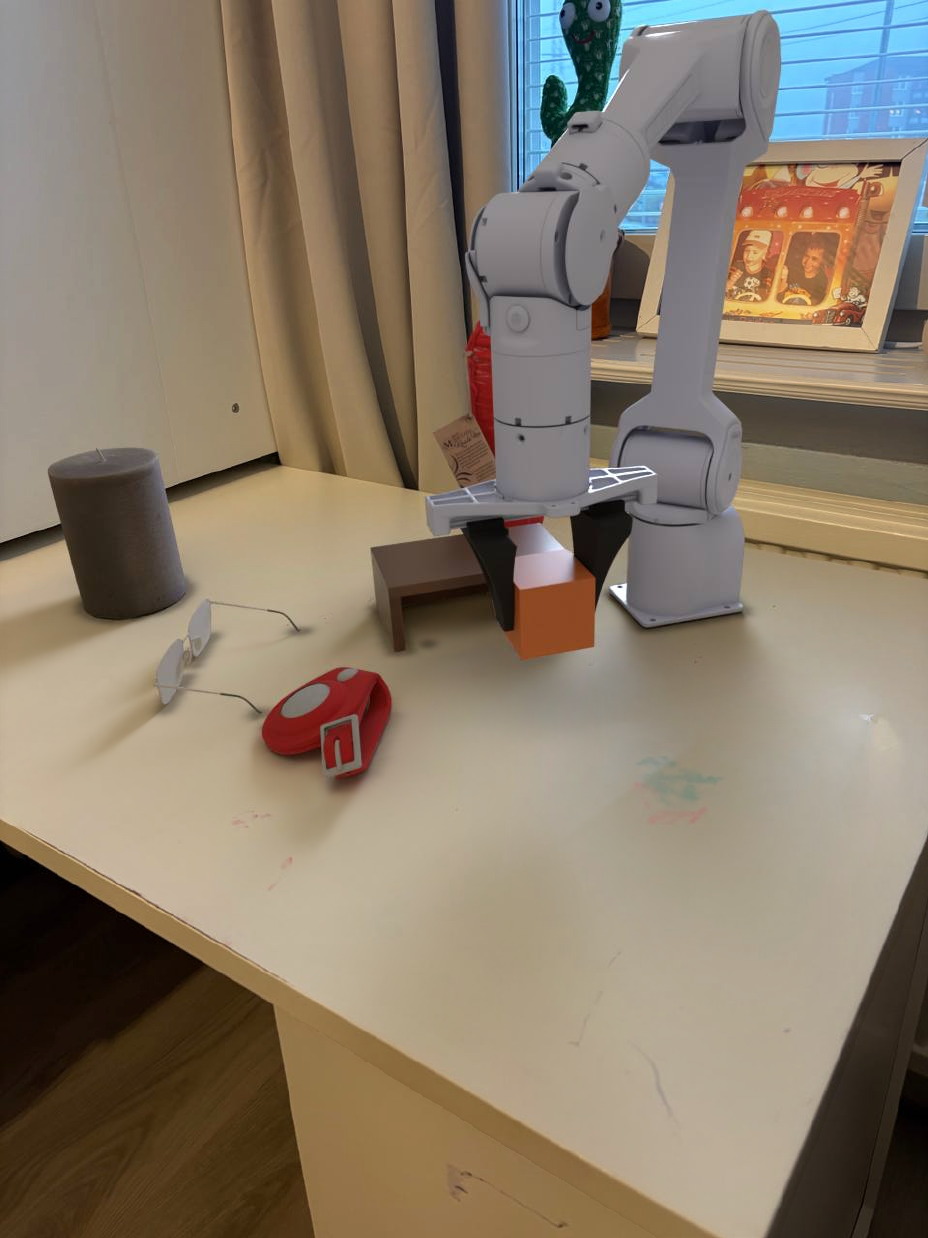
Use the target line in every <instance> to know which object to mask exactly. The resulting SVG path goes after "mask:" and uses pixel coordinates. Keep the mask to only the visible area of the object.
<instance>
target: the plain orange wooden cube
mask: <svg viewBox="0 0 928 1238" xmlns="http://www.w3.org/2000/svg"><path fill="white" fill-rule="evenodd" d="M513 594H514V606H515V619H514V630H513V631H508V632H504V631H503V630H502V628H501V626H500V625H499V624H498V627H499V628H500V630H501V631H502V633H503V634H504V636H505V637H506V638H507V640H508V641H509V643H510V645H511V646H512V648H513V649H514V651H515V653H517V654H516V655H518V657H519V659H520V660H521V661H525V660H530V659H531V660H532V659H536V658H542V657H547V656H553V655H558V654H564V653H568V652H575V651H581V650H586V649H590V648H591V649H592V648H594V647H595V635H596V634H595V629H596V628H595V627H596V624H595V623H596V611H595V577H594V576H593V575H592V574H591V573H590V572H589V571H588V570H587V569H586V568H585V567H584V566H583V565H582V563H581V562H580V561H579V560H578V559H577V558H576V557H575V556H574V553H573V552H571V551H570V549H568V548H564V549H562V550H556V551H549V552H543V553H537V554H530V555H524V556H518V557H515V566H514V580H513Z"/></svg>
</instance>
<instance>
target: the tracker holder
mask: <svg viewBox="0 0 928 1238" xmlns="http://www.w3.org/2000/svg"><path fill="white" fill-rule="evenodd" d="M391 693H392V692H391V691H390V688H389V686H388V685H387V683H386V682H385V680H384V678H383V677H382V676H381V674H380V673H378V672H375V671H369V670H364V669H360V668H355V667H350V666H340V667H336V668H333V669H331V670H329V671H327V672H325V673H323V674H321V675H319V676H317V677H315V678H313V679H312V680H309V681H308V682H306V683H304V684H303V685H301V686H300V687H298V688H296V689H295V690H293V691H291V692H290V693H289V694H287V695H286V696H284V697H283V698H281V699H280V700H279V701H278V702H277V703H276V704H275V705H274V706H273V708H272V709H271V710H270V711H269V713H268V714H267V715H266V717H265V719H264V721H263V722H262V726H261V733H260V734H261V737H262V740H263V741H264V743H265V744H266V746H267V747H268V749H270V751H272V752H274V753H276V754H279V755H287V756H288V755H296V754H300V753H304V752H305V753H306V752H308V751H311V750H314V749H316V748H319V747H321V765H322V777H323V778H325V779H329V778H332V777H334V778H336V779H337V778H338V779H341V778H345V777H350V776H353V775H357V774H359V773H362V772H364V771H365V770H366V769H367V768H368V767H369V765H370V762H371V760H372V758H373V755H374V752H375V750H376V748H377V745H378V743H379V742H380V739H381V736H382V734H383V731H384V730H385V727H386V725H387V722H388V720H389V717H390V715H391V712H392V711H391V710H392V708H393V698H392V694H391ZM367 704H368V706H367ZM366 707H367V709H366Z"/></svg>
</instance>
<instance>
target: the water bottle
mask: <svg viewBox="0 0 928 1238" xmlns="http://www.w3.org/2000/svg"><path fill="white" fill-rule="evenodd" d="M462 358H463V359H464V370H465V371H464V373H465V387H466V400H467V410H468V413H466V414H464V415H462V416H460V417H458V418H457V419H455V420H453V421H451V422H450V423H448V424H446V425H444V426H442V427H440V428H439V429H436V430H435V431H433V432H432V434H433V436H434V439H435V440H436V443H437V444H438V447H439V448H440V451H441V453H442V454H443V456H444V459H445V461H446V462H447V464H448V467H449V468H450V471H451V472H452V475H453V476H454V479H455V480H456V483H457V485H458V487H459V489H462V488H465V487H469V486H472V485H476V484H479V483H483V482H486V481H490V480H493V479H496V461H495V435H494V411H493V386H492V359H491V336H488V335H487V334H484V332H483V327H481V326H480V319H479V320H478V321H476V324H475V327H474V330H473V331H472V332H471V333H470V336H469V339H468V341H467V344H466V347H465V350H463V351H462ZM545 517H546V516H540V517H534V518H527V519H520V520H513V521H507V522H504V526H505V527H506V528H508V527H515V526H522V525H529V524H536V523H541V525H542V526H543V524H544V521H545Z"/></svg>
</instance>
